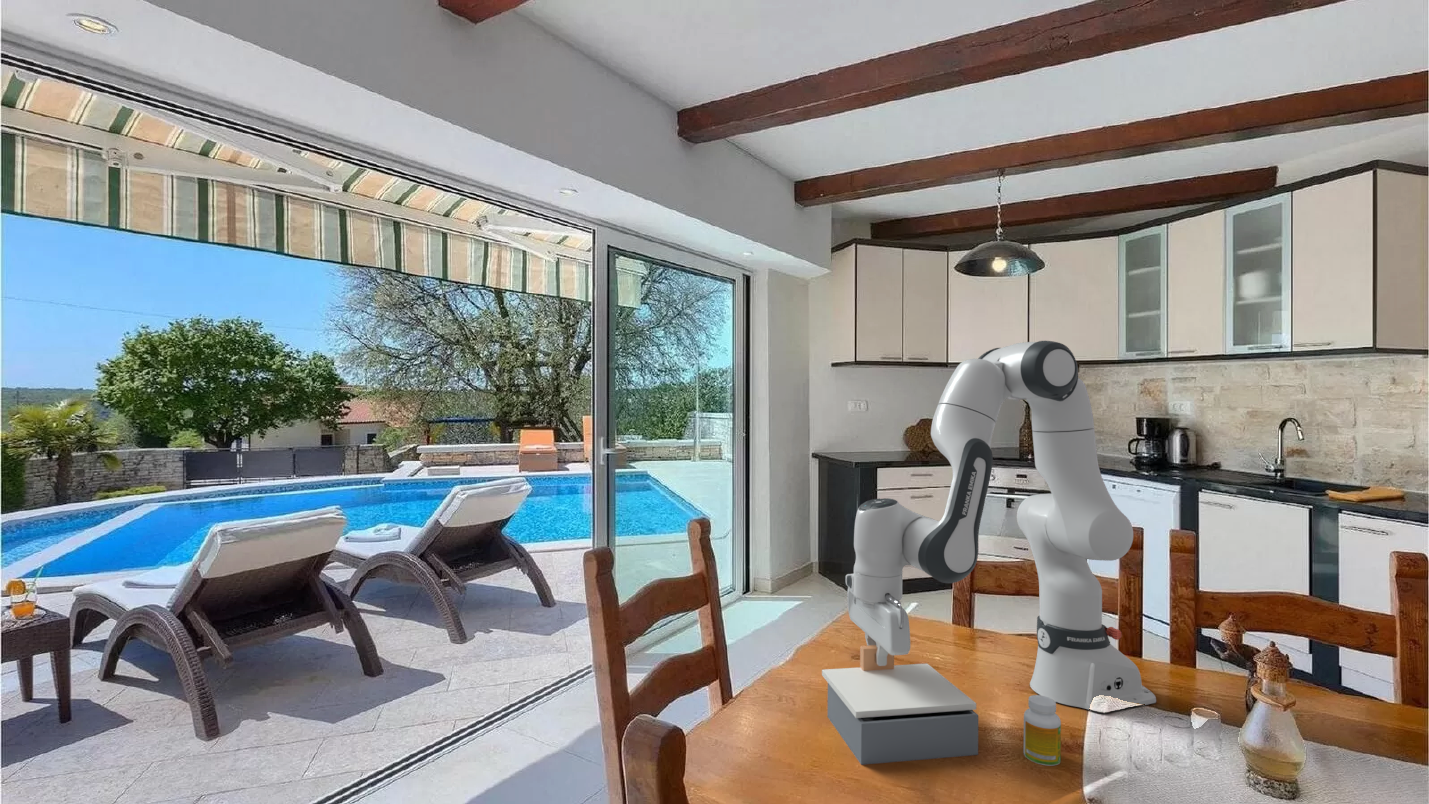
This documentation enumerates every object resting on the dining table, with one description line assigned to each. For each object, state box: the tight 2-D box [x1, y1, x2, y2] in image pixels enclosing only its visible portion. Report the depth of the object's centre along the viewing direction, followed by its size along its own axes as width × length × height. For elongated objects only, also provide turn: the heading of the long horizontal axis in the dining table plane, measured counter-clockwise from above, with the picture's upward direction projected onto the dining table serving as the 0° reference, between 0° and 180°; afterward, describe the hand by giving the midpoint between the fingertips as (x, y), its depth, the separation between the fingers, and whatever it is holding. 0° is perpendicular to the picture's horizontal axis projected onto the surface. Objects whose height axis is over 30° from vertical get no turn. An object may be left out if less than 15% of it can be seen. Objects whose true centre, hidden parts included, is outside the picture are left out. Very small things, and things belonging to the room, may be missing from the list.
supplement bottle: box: [1023, 694, 1062, 767], centre depth 106 cm, size 5×5×10 cm
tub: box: [827, 682, 979, 766], centre depth 113 cm, size 20×16×7 cm
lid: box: [821, 645, 977, 718], centre depth 115 cm, size 21×17×5 cm
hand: (877, 661), depth 122 cm, fingers closed on lid, 2 cm apart
